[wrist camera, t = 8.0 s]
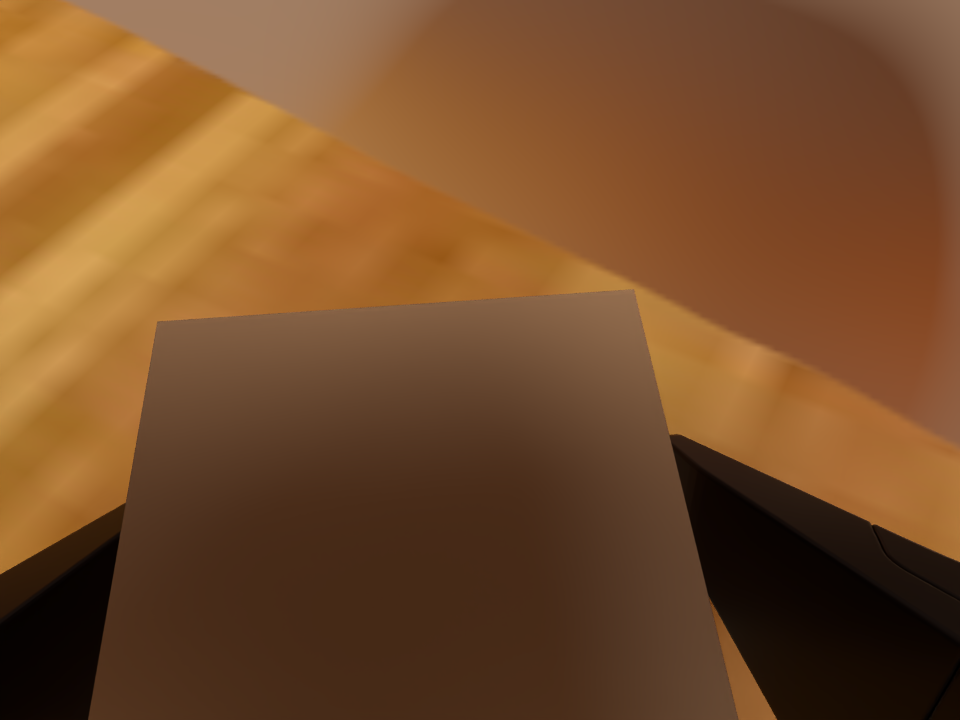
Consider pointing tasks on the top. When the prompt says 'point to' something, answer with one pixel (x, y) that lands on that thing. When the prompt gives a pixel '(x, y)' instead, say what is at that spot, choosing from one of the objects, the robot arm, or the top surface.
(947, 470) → the top surface
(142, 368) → the top surface
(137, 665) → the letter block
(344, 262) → the top surface
